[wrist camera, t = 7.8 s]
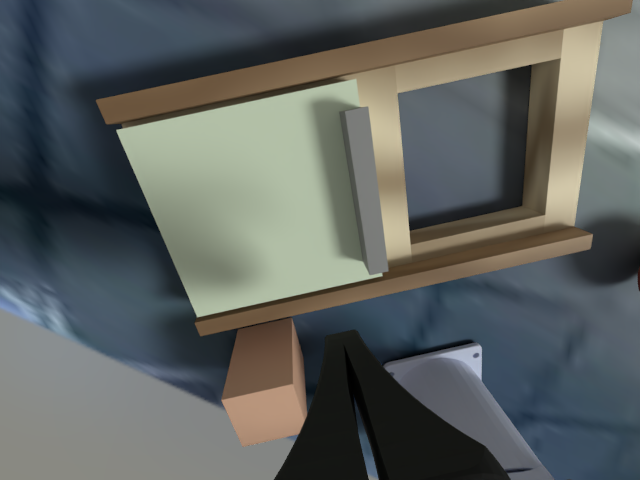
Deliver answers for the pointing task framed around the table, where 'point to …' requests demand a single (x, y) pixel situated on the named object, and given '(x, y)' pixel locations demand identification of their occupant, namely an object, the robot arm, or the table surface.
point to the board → (382, 100)
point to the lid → (264, 196)
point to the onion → (639, 278)
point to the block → (266, 383)
